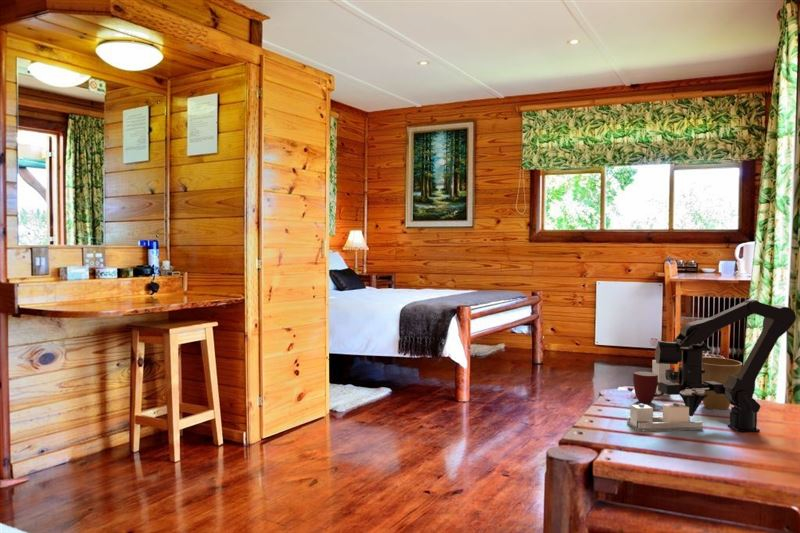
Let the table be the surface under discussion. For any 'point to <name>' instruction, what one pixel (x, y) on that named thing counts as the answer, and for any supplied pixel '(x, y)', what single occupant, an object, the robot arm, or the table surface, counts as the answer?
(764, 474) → the table surface
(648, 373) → the mug
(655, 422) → the rail
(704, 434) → the table surface
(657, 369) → the skincare box
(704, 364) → the plant pot
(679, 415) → the block
